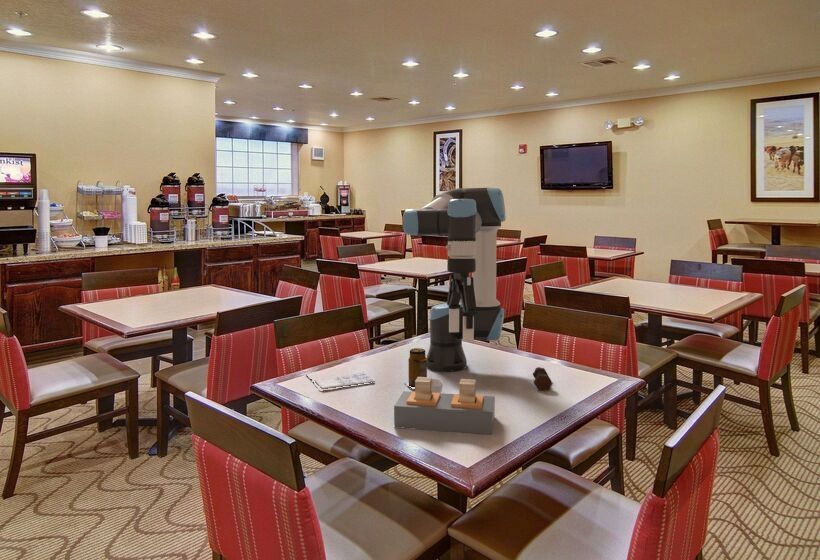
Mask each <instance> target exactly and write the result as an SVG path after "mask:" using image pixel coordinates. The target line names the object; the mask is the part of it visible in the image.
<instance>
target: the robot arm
mask: <svg viewBox="0 0 820 560" xmlns="http://www.w3.org/2000/svg"><path fill="white" fill-rule="evenodd" d="M505 207H506V206H505V200H504V195H503V192H502V190H501V189H500V188H497V187H489V186H488V187H471V188H469V187H468V188H467V187H466V188H461V187H459V188H458V187H457V188H453V189H449V190H447V191H443V192H441V193H438V194H437V195H435V196H434V197H433V198H432V199H431V201H430V203H428V204H425V206H423V207H421V208H409V209H405V210H404V213H403V215H402V229H403V232H404V234H406V235H408V236H416V237H417V236H447V244H446V245H445V249H447V256H448V257H449V258H447V261H446V262H447V264H446V265H447V266H446V267H447V269H446V271H447V272H449V273H450V275H449V285H448V286H449V287H448V292H447V293H448V294H447V302H445V303H443V302H442V303H440V304H436V305H433V306H432V307H431V308H430V312H429V314H430V315H429V326H430V327H429V332H430V333H429V339H430V341H429V342H430V345H429V347H428V348H429V349H428V350H427V351H428V352H427V355H426V356H425V357H426V359H427V369H429V370H431V371H437V372H457V371H461V370H464V369H466V368H467V366H468V361H467V357H466V354H465V351H464V348H463V342H474V341H486V342H488V341H498V340H500V338H501V337H502V330H503V324H504V317H505V308H502V307H501V302H500V300H498V299H497V250H498V249H497V239H498V237H497V236H498V235H497V232H498V230H499V229H500V228H501V227H502V223H503V222H505V221H506V208H505ZM470 274H471V276H470Z"/></svg>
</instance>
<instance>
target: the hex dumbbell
mask: <svg viewBox="0 0 820 560" xmlns="http://www.w3.org/2000/svg"><path fill="white" fill-rule="evenodd" d="M532 376H533V377H534V380H533V384H534V385H535V387H536V389H537V390H538V391H540V392H541V391H543V392H544V391H545V392H546V391H549V390H550V389H551V387H552V385H553V381H552V380H551V378H550V377H549V374H548V372H547V371H546V369H545V368H544V367H540V366H539V367H536V368H535V369H534V371H533V373H532Z"/></svg>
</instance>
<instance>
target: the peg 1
mask: <svg viewBox="0 0 820 560" xmlns="http://www.w3.org/2000/svg"><path fill="white" fill-rule="evenodd" d="M432 379H433V377H432V376H431V377H429V376H427V377H417V379H416V381H415V390H414V392H415V400H431V399H432Z"/></svg>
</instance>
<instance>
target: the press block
mask: <svg viewBox="0 0 820 560" xmlns="http://www.w3.org/2000/svg"><path fill="white" fill-rule="evenodd" d="M444 393H445V392H444ZM444 393H432V399H431V400H415V390H411V391H406V390H405V391H404V390H403V391H402V392H401V394H400V396H399V398H397V401H396V402H395V404H394V405H393V418H394V419H393V420H394V421H393V423H394V425H393V426H395V427H404V428H403V429H409V428H415V429H414V430H423V429H424V430H425V431H426V430H427V431H440V432H453V433H465V434H466V433H470V434H482V435H493V432H494V425H495V411H496V409H495V408H496V407H495V406H496V404H495V403H496V401H495V399H496V397H495V395H492V396H491V395H480V394H476V403H464V402H459V393H446V394H444ZM395 427H394V428H395ZM424 430H423V431H424Z"/></svg>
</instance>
